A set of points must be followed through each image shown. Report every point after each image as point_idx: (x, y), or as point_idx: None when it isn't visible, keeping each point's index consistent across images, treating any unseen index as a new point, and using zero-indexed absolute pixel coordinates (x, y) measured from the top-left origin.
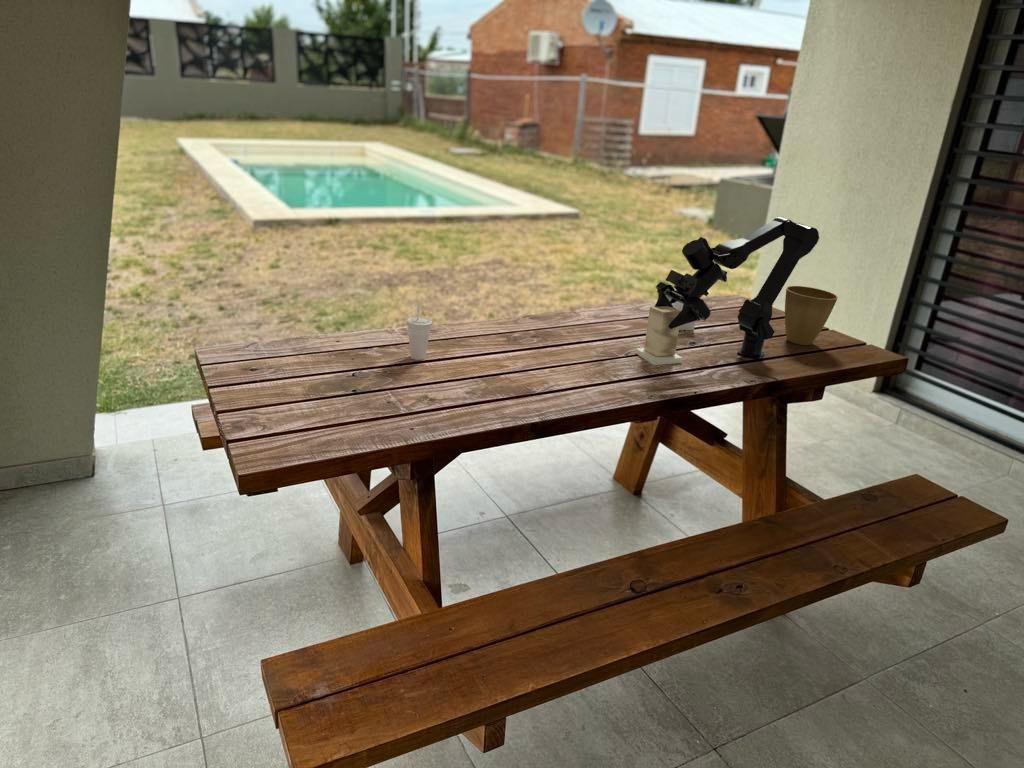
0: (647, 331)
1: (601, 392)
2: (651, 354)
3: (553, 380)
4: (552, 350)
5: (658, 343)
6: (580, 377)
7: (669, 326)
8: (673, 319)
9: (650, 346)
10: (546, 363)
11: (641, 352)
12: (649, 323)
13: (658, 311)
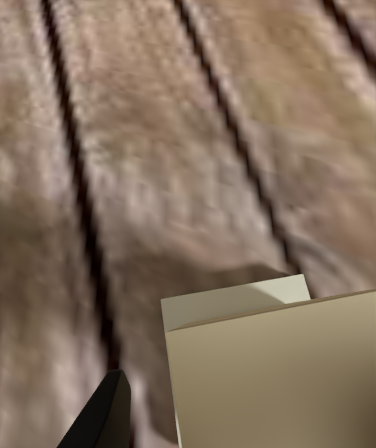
0: (313, 299)
1: (18, 87)
2: (226, 314)
3: (102, 9)
4: (313, 32)
5: (187, 323)
6: (112, 62)
7: (109, 375)
8: (95, 443)
9: (247, 311)
10: (208, 8)
11: (259, 282)
12: (328, 297)
13: (268, 313)
